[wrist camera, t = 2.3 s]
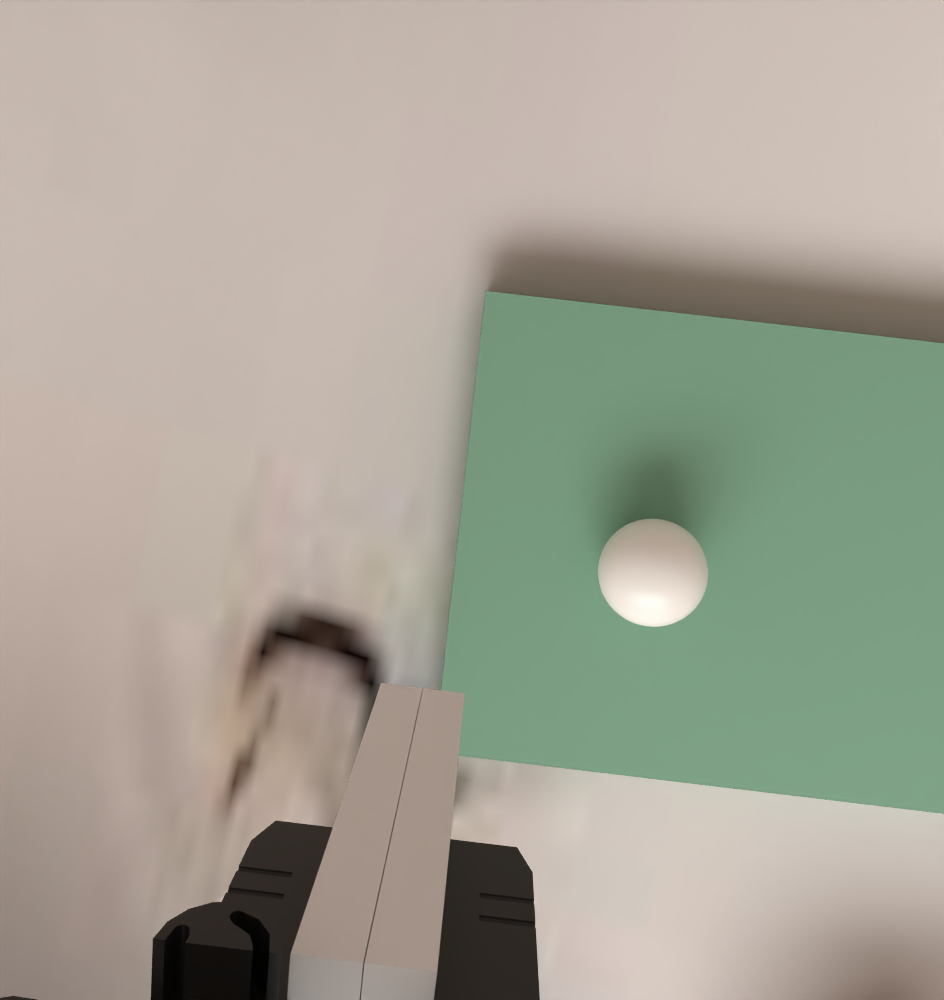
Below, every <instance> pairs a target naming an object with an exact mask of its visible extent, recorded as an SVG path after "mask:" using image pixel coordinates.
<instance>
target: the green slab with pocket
mask: <svg viewBox="0 0 944 1000" xmlns="http://www.w3.org/2000/svg"><path fill="white" fill-rule="evenodd" d="M642 519H661V520H666V521H670V522H673V523H675V524H677V525H679V526H681V527H682V528H684V529H685V530H687V531H688V532H689V533H690V534H691V535H692V536H693V537H694V538H695V539H696V540H697V542H698V543H699V545H700V546H701V548H702V550H703V552H704V554H705V557H706V560H707V566H708V582H707V586H706V590H705V593H704V595H703V597H702V599H701V601H700V603H699V604H698V605H697V607H696V608H695V609H694V610H693V611H692V612H691V613H690V614H689V615H687V616H686V617H685V618H683V619H682V620H680V621H678V622H675V623H673V624H670V625H666V626H659V627H649V626H643V625H638V624H635V623H633V622H630V621H628V620H626V619H625V618H623V617H622V616H620V615H619V614H618V613H617V612H615V611H614V610H613V609H612V607H611V606H610V605H609V604H608V602H607V601H606V599H605V597H604V595H603V593H602V591H601V588H600V584H599V579H598V564H599V559H600V556H601V553H602V550H603V548H604V546H605V544H606V543H607V541H608V540H609V539H610V537H611V536H612V535H613V534H614V533H615V532H617V531H618V530H619V529H620V528H622V527H624V526H625V525H627V524H629V523H631V522H634V521H637V520H642ZM441 690H443V691H451V692H460V693H465V697H464V707H463V717H462V727H461V737H460V747H459V756H466V757H475V758H483V759H491V760H500V761H508V762H516V763H525V764H533V765H542V766H550V767H558V768H567V769H575V770H583V771H592V772H600V773H608V774H617V775H625V776H633V777H642V778H650V779H658V780H667V781H675V782H684V783H692V784H700V785H709V786H717V787H725V788H734V789H742V790H750V791H759V792H767V793H775V794H784V795H792V796H800V797H809V798H817V799H825V800H834V801H842V802H851V803H859V804H867V805H876V806H884V807H892V808H901V809H909V810H917V811H926V812H934V813H942V814H944V343H937V342H928V341H920V340H911V339H902V338H893V337H885V336H876V335H867V334H858V333H850V332H841V331H832V330H823V329H815V328H806V327H797V326H788V325H780V324H771V323H762V322H753V321H745V320H736V319H727V318H718V317H710V316H701V315H692V314H683V313H675V312H666V311H657V310H648V309H640V308H631V307H622V306H613V305H605V304H596V303H587V302H578V301H570V300H561V299H552V298H543V297H535V296H526V295H517V294H508V293H500V292H491V291H485V300H484V309H483V318H482V327H481V336H480V345H479V354H478V362H477V371H476V380H475V389H474V398H473V407H472V416H471V425H470V434H469V443H468V452H467V461H466V470H465V479H464V487H463V496H462V505H461V514H460V523H459V532H458V541H457V550H456V559H455V568H454V577H453V586H452V595H451V603H450V612H449V621H448V630H447V639H446V648H445V657H444V666H443V675H442V684H441Z"/></svg>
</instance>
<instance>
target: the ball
mask: <svg viewBox="0 0 944 1000" xmlns="http://www.w3.org/2000/svg"><path fill="white" fill-rule="evenodd" d="M598 579H599V584H600V588H601V591H602V593H603V595H604V597H605V599H606V601H607V602H608V604H609V605H610V606H611V607H612V609H613V610H614V611H615V612H617V613H618V614H619V615H620V616H622V617H623V618H625V619H626V620H628V621H630V622H633V623H635V624H638V625H643V626H649V627H659V626H666V625H670V624H673V623H675V622H678V621H680V620H682V619H683V618H685V617H686V616H687V615H689V614H690V613H691V612H692V611H693V610H694V609H695V608H696V607H697V605H698V604H699V603H700V601H701V599H702V597H703V595H704V593H705V590H706V586H707V582H708V566H707V560H706V557H705V554H704V552H703V550H702V548H701V546H700V545H699V543H698V542H697V540H696V539H695V538H694V537H693V536H692V535H691V534H690V533H689V532H688V531H687V530H685V529H684V528H682V527H681V526H679V525H677V524H675V523H673V522H670V521H666V520H661V519H642V520H637V521H634V522H631V523H629V524H627V525H625V526H624V527H622V528H620V529H619V530H618V531H617V532H615V533H614V534H613V535H612V536H611V537H610V539H609V540H608V541H607V543H606V544H605V546H604V548H603V550H602V553H601V556H600V559H599V564H598Z"/></svg>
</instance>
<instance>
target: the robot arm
mask: <svg viewBox="0 0 944 1000" xmlns="http://www.w3.org/2000/svg"><path fill="white" fill-rule="evenodd" d="M422 690H423V692H422ZM464 697H465V693H460V692H451V691H443V690H435V689H426V688H418V687H410V686H401V685H393V684H385V683H381V685H380V688H379V691H378V694H377V697H376V700H375V703H374V706H373V709H372V712H371V715H370V718H369V721H368V724H367V727H366V730H365V733H364V736H363V739H362V742H361V745H360V748H359V751H358V754H357V757H356V760H355V763H354V766H353V769H352V772H351V775H350V778H349V781H348V784H347V787H346V790H345V793H344V796H343V799H342V802H341V805H340V808H339V811H338V814H337V817H336V820H335V823H334V826H333V828H332V827H324V826H316V825H307V824H299V823H291V822H283V821H275V822H274V823H272V824H271V825H270V826H269V827H267V828H266V829H265V830H264V831H263V832H261V833H260V834H259V835H258V836H256V837H255V838H254V839H253V840H252V841H251V842H250V844H249V846H248V849H247V851H246V853H245V855H244V857H243V859H242V861H241V863H240V865H239V869H238V871H236V873H235V875H234V877H233V880H232V882H231V884H230V886H229V889H228V893H226V894H225V896H224V898H223V900H222V902H212V903H209V904H205V905H202V906H198V907H194V908H191V909H188V910H186V911H185V912H183V913H181V914H180V915H178V916H176V917H175V918H173V919H171V920H170V921H168V922H167V923H166V924H165V925H164V926H163V928H162V929H161V930H160V931H159V932H158V933H157V935H156V936H155V937H154V938H153V954H152V983H151V1000H540V998H539V980H538V963H537V945H536V928H535V910H534V892H533V874H532V871H531V869H530V868H529V866H528V864H527V863H526V861H525V860H524V858H523V856H522V855H521V853H520V852H519V850H518V848H517V847H509V846H501V845H493V844H485V843H476V842H468V841H460V840H452V839H450V837H451V827H452V817H453V807H454V797H455V787H456V777H457V767H458V757H459V747H460V737H461V727H462V717H463V707H464ZM0 1000H36V999H30V998H23V997H17V996H10V997H3V998H0Z"/></svg>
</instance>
